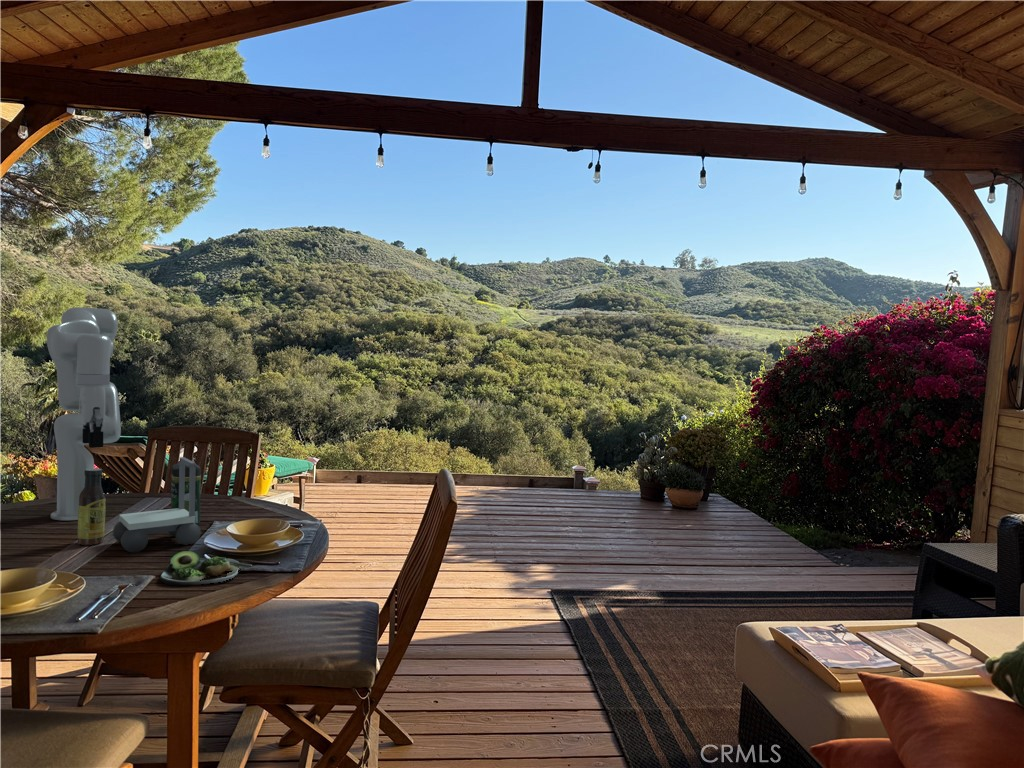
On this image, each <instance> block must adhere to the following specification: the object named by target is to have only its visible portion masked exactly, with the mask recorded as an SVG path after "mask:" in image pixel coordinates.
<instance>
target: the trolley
mask: <svg viewBox="0 0 1024 768" xmlns="http://www.w3.org/2000/svg"><path fill="white" fill-rule="evenodd" d="M178 462H179V508H176V509H171V508H167V509H166V508H165V509H158V510H149V511H140V512H139V511H137V512H131V513H130V512H129V513H122V514H119V517H118V518H119V519H118V522H117V523H116V524H115V525H114V527H113V530H112V535H113V538H114V539H115V540H116V541H117V542H118V543H120V545H121V546H122V548H123V549H124V550H125V551H127V552H128V553H134V554H135V553H139V552H141V551H142V550H144V549H145V548H146V547H147V545H148V543H149V537H148V535H153V534H160V533H161V534H162V533H168V534H169V535H170V536H172V537H175V539H176V540H177V542H178V543H179V544H182V545H183V546H189V545H188V544H191V545H193V544H194V543H197V542H198V540H199V539H200V537H201V533H202V531H201V527H200V526H199V525H198V524H195V523H194V522H195V474H196V462H194V461H193V460H190V459H189V458H186V457H185V456H180V457H179V461H178ZM185 465H187V466H189V467H190V475H189V512H188V511H187V510H185V509H184V500H185Z"/></svg>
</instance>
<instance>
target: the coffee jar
mask: <svg viewBox="0 0 1024 768" xmlns="http://www.w3.org/2000/svg"><path fill="white" fill-rule="evenodd" d="M201 473H202V468H201V467H200V466H199V465H198V464H196V474H195V522H194V523H195V524H196V525H198V524H200V523H201V485H202V484H201V483H202V482H201V480H202V474H201ZM189 475H190V467H189V466H187V465H185V500H184V509H185V510H187V511H188V512H189ZM170 477H171V481H170V482H171V484H170V485H171V486H170V487H171V488H170V505H171V506H170V509H176V508H179V461H178V462H177V463H174V464H173V465H172V466H171V476H170Z"/></svg>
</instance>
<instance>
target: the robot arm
mask: <svg viewBox="0 0 1024 768" xmlns="http://www.w3.org/2000/svg"><path fill="white" fill-rule="evenodd" d="M60 321H61V323H60V324H55V325H52V326H50V327H49V328H48V329H47V332H46V346H47V350H48V353H49V356H50V358H51V360H52V362H53V365H54V366H55V369H56V375H57V376H56V378H57V381H56V383H57V397H58V403H59V407H60V408H61V409H62V410H64V411H66V412H72V413H66V414H62V415H60V416H58V417H57V418H55V421H54V422H53V430H54V431H53V432H54V440H55V445H56V457H57V459H56V463H57V464H56V466H57V469H56V471H57V472H56V473H57V474H56V477H57V478H56V479H57V480H56V482H57V483H56V510H55V511H53V512H51V513H50V519H52V520H55V521H64V522H65V521H78V507H79V496H80V493H81V492H82V490H83V489H84V488H85V474H84V473H85V470H86V469H95V460H94V456H93V454H92V453H91V452H90V450H88V449H87V448H86V447H85V445H88V447H89V448H90V449H92V448H94V449H97V448H104V444H112V443H115V442H118V441H119V439H120V437H121V435H122V434H121V433H122V429H121V427H122V425H121V424H122V423H121V413H120V412H121V411H120V401H119V400H120V399H119V393H118V388H117V387H116V385H115V384H114V383H113V382H111V381H110V380H111V378H110V377H111V374H110V373H111V357H112V356H113V354H114V348H115V347H114V341H115V338H116V335H117V333H118V326H119V323H118V322H119V321H118V318H117V315H116V314H115V312H113V311H112V310H111V309H108V308H97V307H96V308H94V307H71V308H68V309H67V310H65V311H64V312H63V313H62V315H61V320H60Z"/></svg>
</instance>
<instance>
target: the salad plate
mask: <svg viewBox="0 0 1024 768" xmlns="http://www.w3.org/2000/svg"><path fill="white" fill-rule="evenodd" d="M238 567H239V568H244V569H249V568H251V567H253V564H250V563H244V562H239V561H238V560H237V559H233V558H226V557H222V556H220V557H219V556H217V555H216V556H214V557H208V558H204V557H200V555H199V554H198V553H196V552H194V551H191V550H182V551H180V552H177V553H175V554H174V555H173V556H171V557H170V559H169V565H168V566H167V567H166V568H165V569H164V570H163V572H162V573H161V575H160V576H159V580H160V581H161V582H162V583H163V582H164V583H163V584H165V585H168V584H169V585H168V586H174V585H181V586H183V587H186V585H188V586H202V585H201V584H204V585H211V584H210V583H214V584H219V583H218V582H221V583H224V582H223V581H225V582H227V581H226V580H228V581H230V580H229V579H231V580H233V579H234V577H235V576H236V577H237V576H238V574H239V572H238V569H239V568H238ZM233 569H234V570H233ZM227 570H233V571H232V572H229V573H227V576H226V577H222V576H221V577H218V578H212V579H206V578H205V577H208V576H216V575H220V574H222V573H224V572H225V571H227ZM236 577H235V578H236ZM204 578H205V579H206V580H205V579H204ZM208 578H209V577H208ZM232 578H233V579H232ZM202 579H203V580H202ZM200 580H201V581H200ZM181 586H180V587H181Z"/></svg>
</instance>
